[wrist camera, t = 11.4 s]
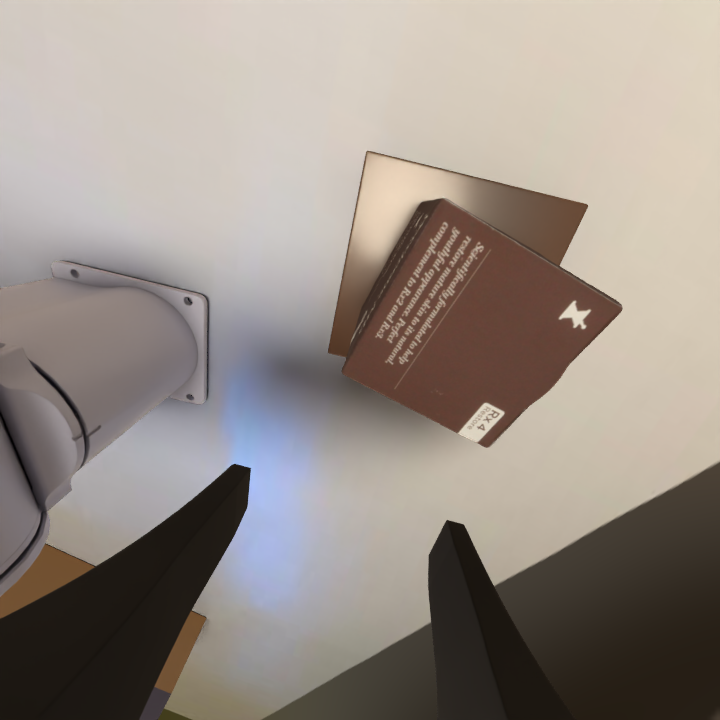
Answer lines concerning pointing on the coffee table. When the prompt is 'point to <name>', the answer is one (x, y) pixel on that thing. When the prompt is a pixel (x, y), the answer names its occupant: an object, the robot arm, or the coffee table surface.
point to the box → (471, 323)
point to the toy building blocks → (63, 568)
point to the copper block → (422, 183)
